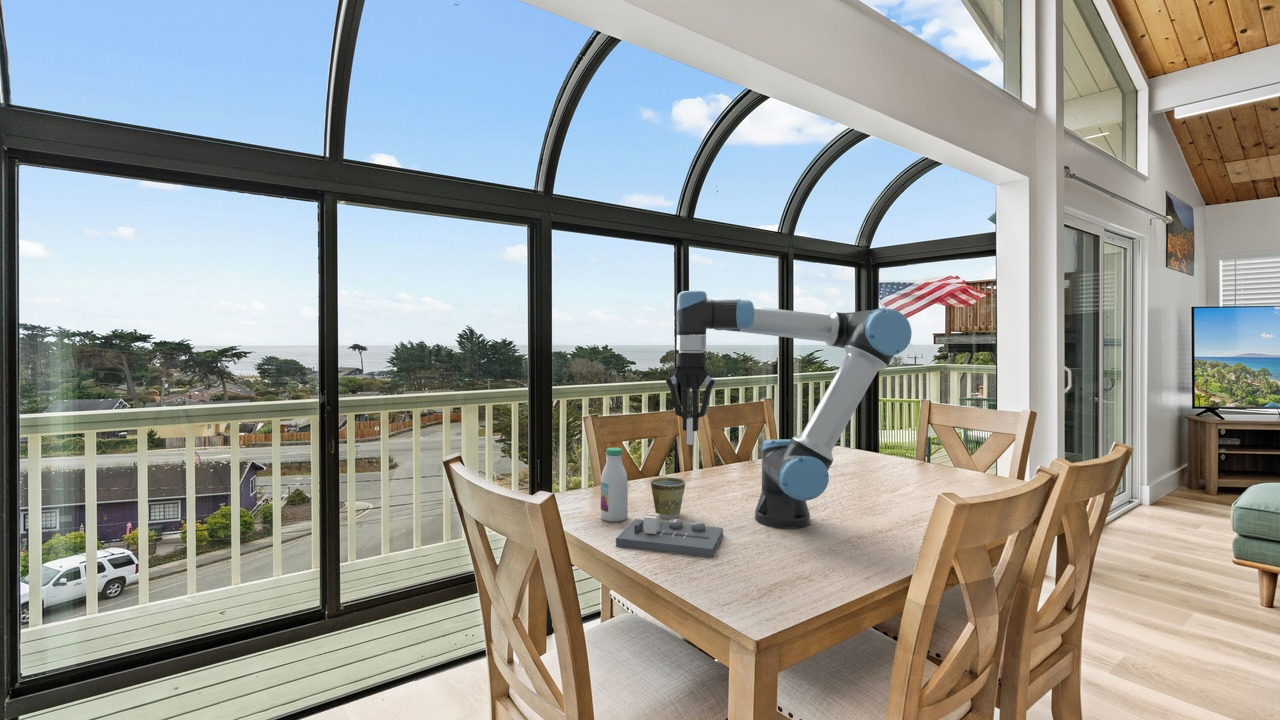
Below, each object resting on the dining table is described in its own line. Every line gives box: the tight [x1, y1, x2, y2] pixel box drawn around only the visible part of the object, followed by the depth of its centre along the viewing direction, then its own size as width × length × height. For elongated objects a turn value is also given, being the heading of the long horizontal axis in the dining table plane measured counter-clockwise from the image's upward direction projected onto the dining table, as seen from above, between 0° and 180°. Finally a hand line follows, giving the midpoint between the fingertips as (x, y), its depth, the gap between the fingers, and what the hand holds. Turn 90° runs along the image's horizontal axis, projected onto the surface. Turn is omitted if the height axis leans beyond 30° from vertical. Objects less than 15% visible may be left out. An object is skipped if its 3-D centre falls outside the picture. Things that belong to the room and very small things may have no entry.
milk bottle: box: [600, 447, 629, 523], centre depth 166 cm, size 8×8×20 cm
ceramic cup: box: [650, 476, 686, 520], centre depth 171 cm, size 13×10×10 cm
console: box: [615, 518, 724, 558], centre depth 148 cm, size 24×16×4 cm, turn 73°
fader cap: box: [643, 512, 661, 534], centre depth 148 cm, size 3×4×4 cm
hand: (690, 443), depth 150 cm, fingers closed
